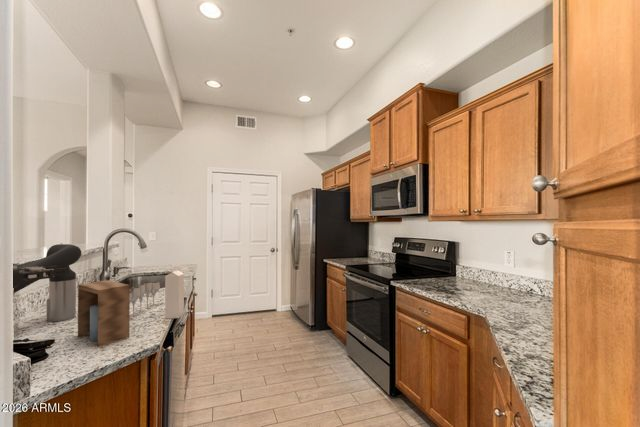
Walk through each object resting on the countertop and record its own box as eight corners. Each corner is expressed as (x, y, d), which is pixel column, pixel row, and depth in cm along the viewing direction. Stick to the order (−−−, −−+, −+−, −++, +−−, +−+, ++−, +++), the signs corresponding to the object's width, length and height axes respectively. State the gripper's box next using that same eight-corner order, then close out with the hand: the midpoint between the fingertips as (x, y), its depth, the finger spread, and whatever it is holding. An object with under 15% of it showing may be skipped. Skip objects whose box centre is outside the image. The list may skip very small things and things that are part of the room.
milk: (184, 314, 141) (184, 266, 141) (178, 318, 135) (179, 268, 135) (170, 314, 140) (171, 266, 141) (164, 318, 134) (165, 268, 135)
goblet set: (129, 322, 131) (129, 291, 131) (115, 322, 131) (115, 291, 131) (162, 304, 159) (162, 278, 159) (151, 304, 159) (151, 278, 159)
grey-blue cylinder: (86, 341, 109) (87, 308, 109) (93, 335, 115) (93, 304, 115) (106, 339, 111) (106, 306, 111) (111, 333, 117) (112, 302, 117)
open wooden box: (98, 346, 105) (98, 290, 105) (77, 336, 115) (78, 284, 115) (129, 337, 113) (129, 284, 113) (107, 328, 123) (107, 280, 123)
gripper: (-11, 287, 94) (55, 278, 108) (1, 293, 87) (71, 283, 100) (-11, 263, 95) (55, 257, 108) (1, 267, 87) (71, 260, 100)
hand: (63, 269), depth 104 cm, fingers open, 8 cm apart
